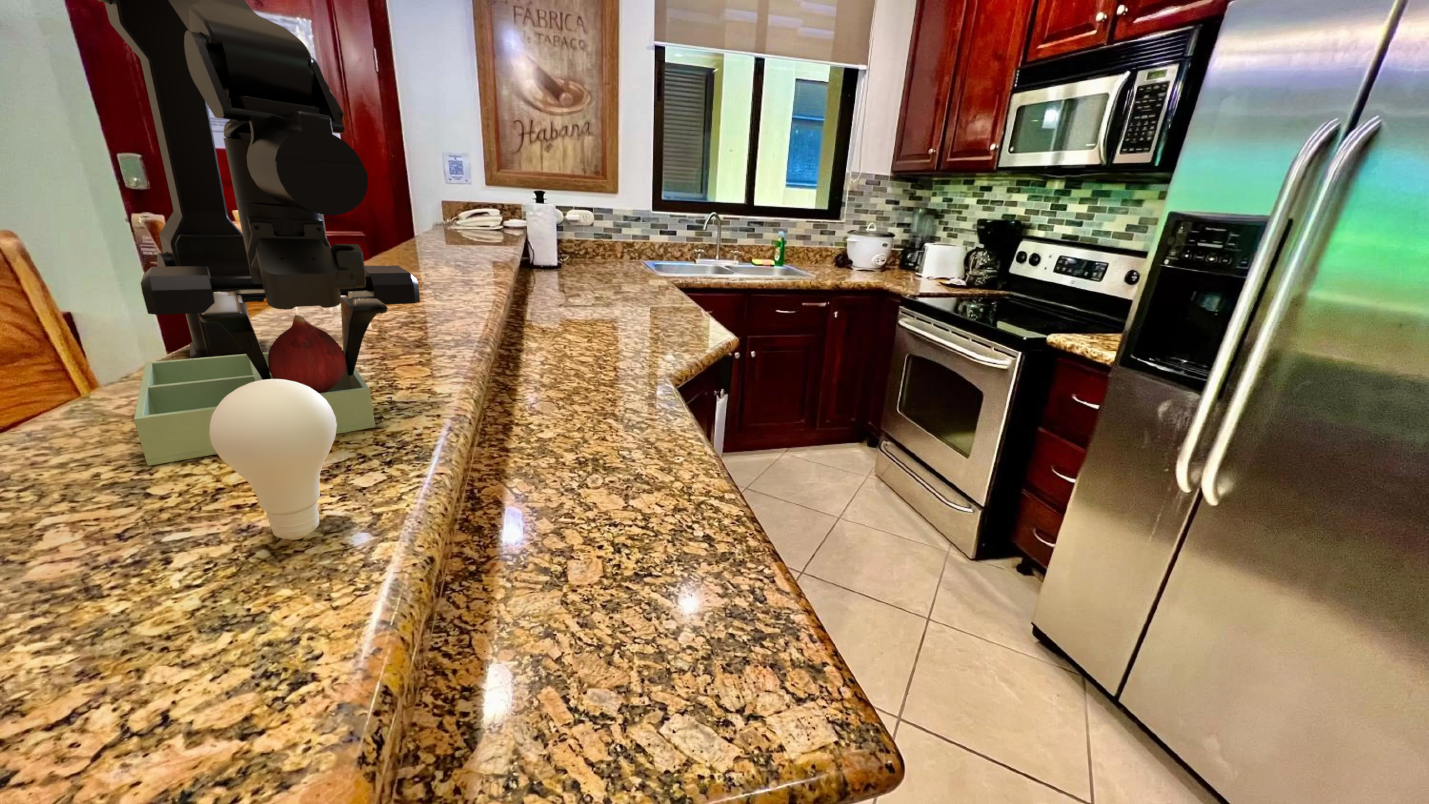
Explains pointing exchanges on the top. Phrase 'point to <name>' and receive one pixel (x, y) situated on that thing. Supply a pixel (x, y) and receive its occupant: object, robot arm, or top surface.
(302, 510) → the lightbulb
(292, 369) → the onion
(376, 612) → the top surface
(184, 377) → the divided tray
